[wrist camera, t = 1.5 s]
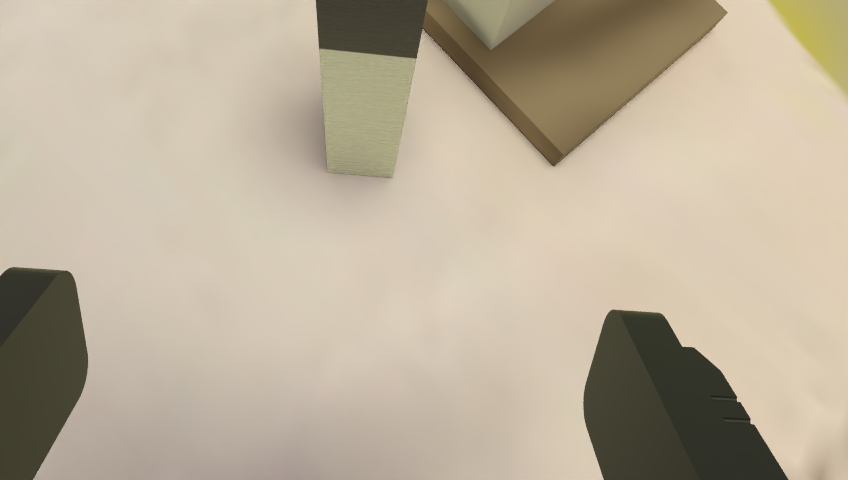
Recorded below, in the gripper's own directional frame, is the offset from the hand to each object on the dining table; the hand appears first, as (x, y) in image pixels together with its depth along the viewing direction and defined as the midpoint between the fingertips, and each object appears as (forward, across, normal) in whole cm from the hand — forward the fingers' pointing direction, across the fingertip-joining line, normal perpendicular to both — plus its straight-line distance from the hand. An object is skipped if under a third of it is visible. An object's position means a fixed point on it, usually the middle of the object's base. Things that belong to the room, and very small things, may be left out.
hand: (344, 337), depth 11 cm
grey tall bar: (+22, 0, +5) cm, 23 cm away
